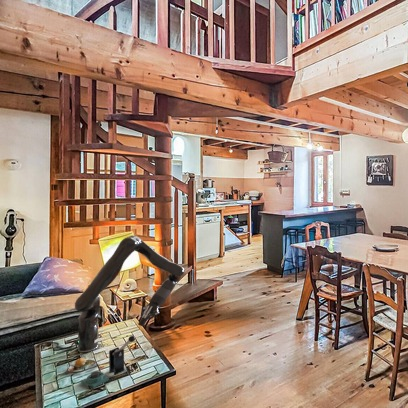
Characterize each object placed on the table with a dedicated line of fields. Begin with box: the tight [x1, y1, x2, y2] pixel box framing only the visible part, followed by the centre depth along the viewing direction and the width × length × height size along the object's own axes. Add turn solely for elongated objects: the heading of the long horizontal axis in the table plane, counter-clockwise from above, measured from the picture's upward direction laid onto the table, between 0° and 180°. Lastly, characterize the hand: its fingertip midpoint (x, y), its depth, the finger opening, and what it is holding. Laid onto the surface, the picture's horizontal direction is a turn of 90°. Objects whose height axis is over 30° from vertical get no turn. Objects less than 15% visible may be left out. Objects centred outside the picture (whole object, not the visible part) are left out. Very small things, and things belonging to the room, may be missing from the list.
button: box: [90, 370, 101, 378], centre depth 155 cm, size 4×4×2 cm
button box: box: [80, 371, 110, 389], centre depth 155 cm, size 10×7×4 cm
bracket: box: [108, 346, 125, 376], centre depth 163 cm, size 8×10×13 cm
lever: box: [112, 335, 136, 356], centre depth 167 cm, size 12×3×3 cm, turn 156°
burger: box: [66, 357, 97, 374], centre depth 167 cm, size 12×12×8 cm
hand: (140, 325), depth 174 cm, fingers closed
